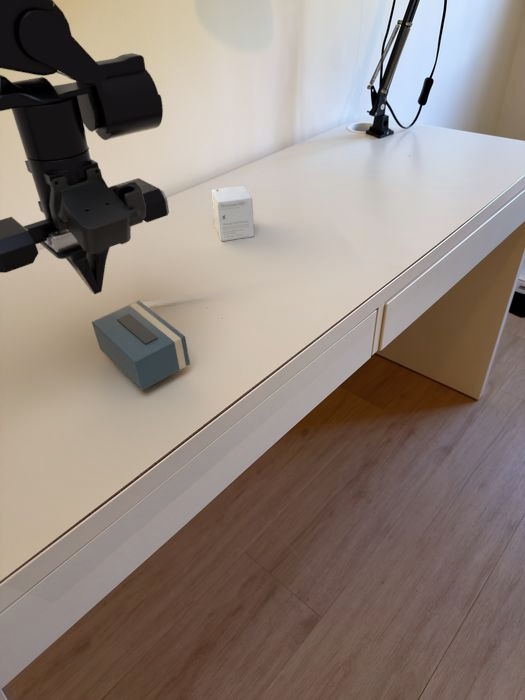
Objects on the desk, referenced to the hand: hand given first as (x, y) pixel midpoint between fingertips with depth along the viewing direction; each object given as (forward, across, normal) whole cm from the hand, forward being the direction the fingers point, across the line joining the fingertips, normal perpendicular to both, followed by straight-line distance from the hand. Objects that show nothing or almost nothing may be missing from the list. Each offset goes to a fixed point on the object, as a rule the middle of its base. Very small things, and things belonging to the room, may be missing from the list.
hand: (96, 291), depth 59 cm
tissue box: (+9, +4, 0) cm, 10 cm away
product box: (+11, +34, +19) cm, 41 cm away
